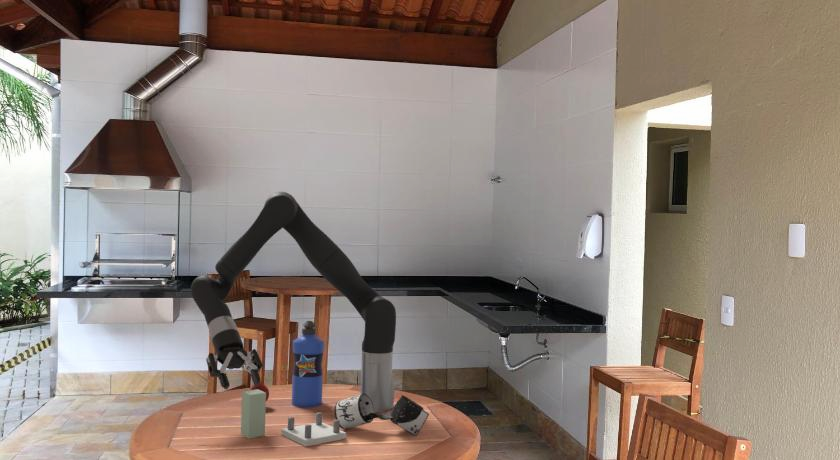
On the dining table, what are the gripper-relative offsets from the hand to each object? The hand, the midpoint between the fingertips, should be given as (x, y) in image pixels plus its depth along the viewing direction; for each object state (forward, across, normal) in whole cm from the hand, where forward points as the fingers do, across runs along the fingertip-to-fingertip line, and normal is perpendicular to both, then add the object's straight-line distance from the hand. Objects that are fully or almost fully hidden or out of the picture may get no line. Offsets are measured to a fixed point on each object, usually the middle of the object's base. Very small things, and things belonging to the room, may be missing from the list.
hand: (242, 385), depth 194 cm
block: (+13, 0, +3) cm, 13 cm away
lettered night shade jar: (+23, +29, -7) cm, 38 cm away
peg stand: (+20, +12, -4) cm, 23 cm away
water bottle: (-1, +28, +18) cm, 33 cm away
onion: (-4, +14, +20) cm, 25 cm away
